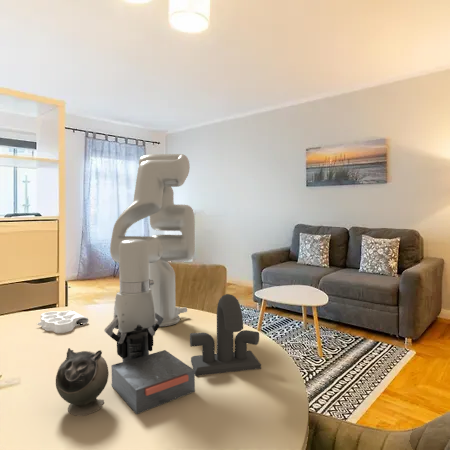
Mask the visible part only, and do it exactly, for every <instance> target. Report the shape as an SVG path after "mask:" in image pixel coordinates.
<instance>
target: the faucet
mask: <svg viewBox="0 0 450 450" xmlns="http://www.w3.org/2000/svg"><path fill="white" fill-rule="evenodd" d="M216 307H217V309H216V342H215V339H214V338H213V336H212V335H211V334H209V333H208V332H192V333H191V332H190V333H189V345H190V347H202V348H201V352H202V353H201V354H199V355H193V356H191V357H190V363H191V366H192V369H194V370H195V377H198V376H199V377H200V376H206V375H208V376H209V375H214V374H215V375H216V374H225V373H233V372H234V373H235V372H242V371H243V372H244V371H251V370H261V369H262V364H261V363H260V361H259V360H258V358H257V357H256V356H255V354H254V353H253V352H252V351H251V350H250V349H249V350H247V349H248V344H249V345H255V346H257V345H258V344H259V342H260V332H259V331H255V330H254V331H253V330H247V329H246V330H244V319H243V312H242V308H241V305H240V302H239V299H237V297H236V296H234V295H233V294H229V293H226V294H224V295H222V296H221V297H220V298H219V299H218V302H217V306H216ZM234 333H236V335H235V338H234ZM215 343H216V345H215ZM215 346H216V347H215Z"/></svg>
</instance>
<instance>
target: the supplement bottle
mask: <svg viewBox="0 0 450 450" xmlns="http://www.w3.org/2000/svg"><path fill="white" fill-rule="evenodd" d="M142 328H143V327H141V325H140V326H139V325H137V328H135V329H134V330H135V331H132V332H128V333H127V334H126V337H125V339H124V343H125V345H126V358H124V359H122V362H125V361H128V360H132V359H135V358H139V357H142V356H146V355H149V354H150V351H149V338H148V331H147V330H146V329H142Z"/></svg>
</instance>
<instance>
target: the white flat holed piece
mask: <svg viewBox="0 0 450 450" xmlns="http://www.w3.org/2000/svg"><path fill="white" fill-rule="evenodd" d="M78 321H79V322H78ZM77 323H78V324H77ZM81 323H82V324H83V325H82V326H84V325H86V324H87V323H89V318H88V317H86V316H84V315H83V314H80V313H78V312H77V311H75V310H65V311H57V310H54V311H48V312H47V311H46V312H43V313H41V314H40V321H39V322H37V323H36V326H37V325H38V326H41V329H43V330H45V331H47V332H54V333H55V334H65V333H68V332H71V331H73V330H74V328H75V326H76V327H78V326H79V327H80V324H81Z"/></svg>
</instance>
